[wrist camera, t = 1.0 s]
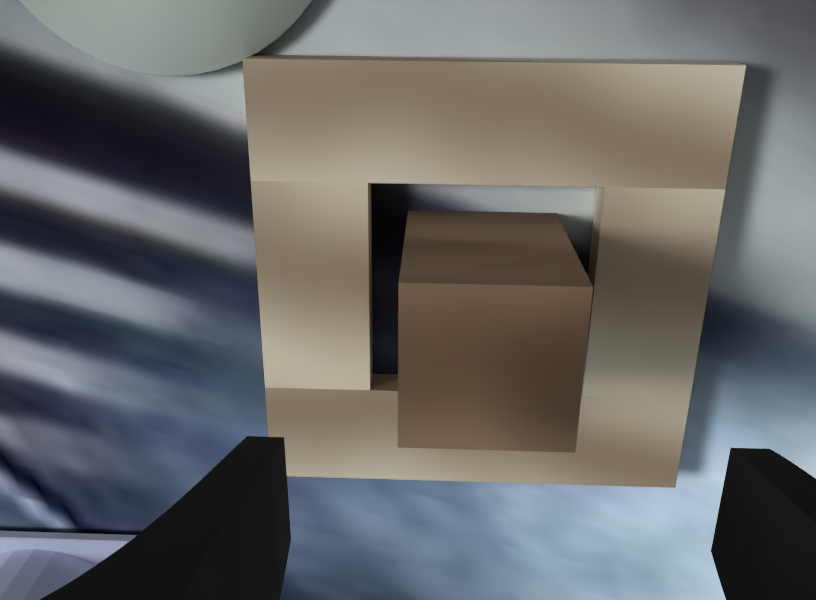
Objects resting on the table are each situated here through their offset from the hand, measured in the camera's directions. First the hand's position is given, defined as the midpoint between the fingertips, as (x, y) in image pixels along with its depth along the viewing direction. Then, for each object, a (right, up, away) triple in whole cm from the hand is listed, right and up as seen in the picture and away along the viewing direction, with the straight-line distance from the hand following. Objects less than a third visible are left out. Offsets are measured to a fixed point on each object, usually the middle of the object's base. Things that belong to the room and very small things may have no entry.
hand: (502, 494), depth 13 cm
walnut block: (0, +4, +9) cm, 10 cm away
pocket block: (0, +4, +9) cm, 10 cm away
